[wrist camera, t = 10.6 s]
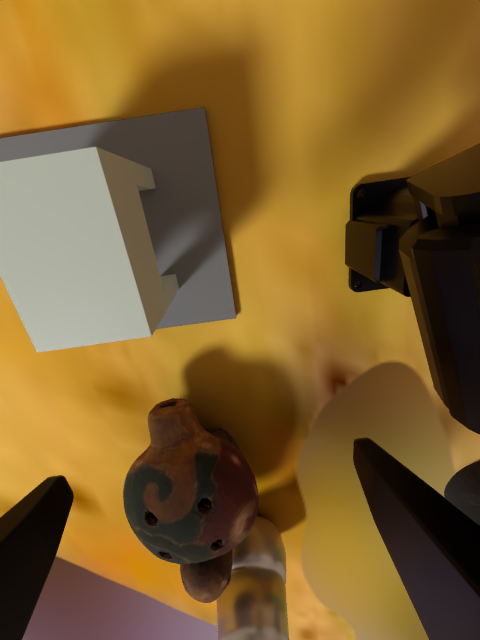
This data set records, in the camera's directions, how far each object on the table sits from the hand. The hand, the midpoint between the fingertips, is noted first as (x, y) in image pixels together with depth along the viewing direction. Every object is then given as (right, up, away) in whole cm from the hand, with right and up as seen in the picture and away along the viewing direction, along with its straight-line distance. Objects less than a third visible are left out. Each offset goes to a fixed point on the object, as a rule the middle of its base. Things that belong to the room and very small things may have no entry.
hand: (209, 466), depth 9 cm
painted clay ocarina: (-3, -7, +16) cm, 18 cm away
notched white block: (-6, +9, +8) cm, 14 cm away
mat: (-6, +9, +9) cm, 14 cm away
